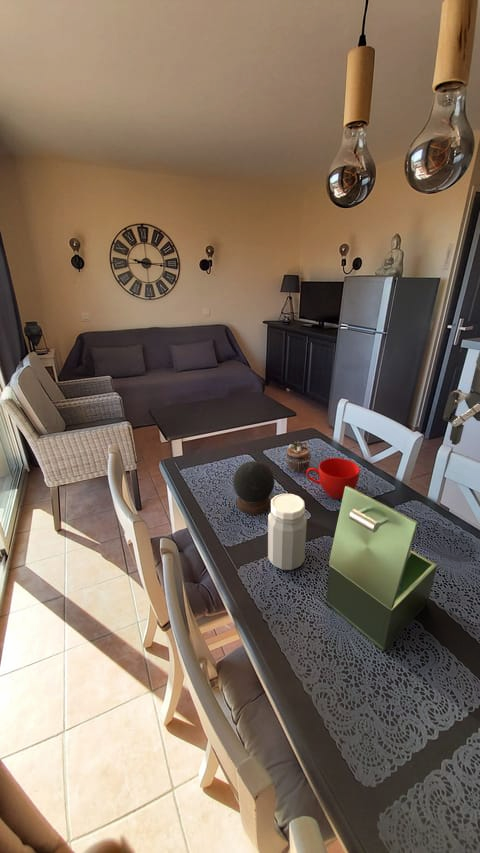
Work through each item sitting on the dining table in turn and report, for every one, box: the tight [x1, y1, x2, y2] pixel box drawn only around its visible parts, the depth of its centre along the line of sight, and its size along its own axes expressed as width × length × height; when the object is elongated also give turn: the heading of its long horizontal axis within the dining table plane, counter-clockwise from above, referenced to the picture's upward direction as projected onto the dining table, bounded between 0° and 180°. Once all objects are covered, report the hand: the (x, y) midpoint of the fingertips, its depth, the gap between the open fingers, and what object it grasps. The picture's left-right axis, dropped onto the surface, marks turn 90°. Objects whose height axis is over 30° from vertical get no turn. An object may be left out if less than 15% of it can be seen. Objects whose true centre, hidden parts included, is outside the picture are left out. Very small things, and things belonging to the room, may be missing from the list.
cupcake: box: [285, 440, 312, 473], centre depth 136 cm, size 10×10×10 cm
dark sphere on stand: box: [232, 460, 275, 515], centre depth 115 cm, size 13×13×15 cm
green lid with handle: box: [328, 486, 419, 609], centre depth 68 cm, size 19×15×5 cm
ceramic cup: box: [305, 457, 361, 500], centre depth 120 cm, size 13×17×10 cm
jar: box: [267, 493, 308, 571], centre depth 92 cm, size 10×10×18 cm
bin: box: [325, 549, 438, 653], centre depth 80 cm, size 18×15×12 cm
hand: (479, 451), depth 68 cm, fingers open, 8 cm apart
